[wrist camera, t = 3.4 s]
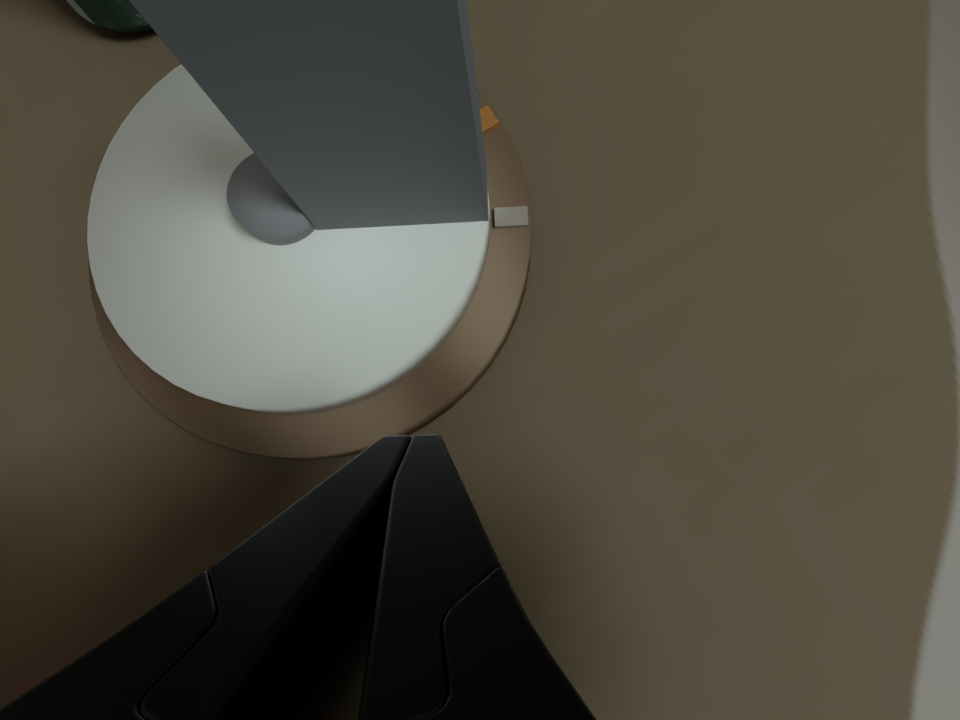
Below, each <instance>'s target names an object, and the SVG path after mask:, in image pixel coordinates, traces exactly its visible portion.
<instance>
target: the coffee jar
mask: <svg viewBox="0 0 960 720" xmlns="http://www.w3.org/2000/svg"><path fill="white" fill-rule="evenodd" d="M65 1H66V2H67V3H68V4H69V5H70V6H71V7H72V8H73V9H74V10H75V11H76V12H77V13H78V14H79V15H81V16H82V17H83V18H84V19H86V20H87V21H88V22H90V23H92V24H94V25H96V26H98V27H101V28H103V29H106V30H111V31H116V32H123V33H135V32H142V31H147V30H150V29H152V27H151V26H150V25H149V24H148V23H147V21H146V20H145V19H144V18H143V16H142V15H141V14H140V13H139V12H138V10H137V9H136V8H135V7H134V5H133V4H132V3H131V2H130V1H129V0H65Z"/></svg>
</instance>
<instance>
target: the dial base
mask: <svg viewBox="0 0 960 720" xmlns="http://www.w3.org/2000/svg"><path fill="white" fill-rule="evenodd" d="M478 100H479V108H480V116H481V124H482V132H483V140H484V148H485V156H486V164H487V185H488V193H489V202H490V212H491V226H490V242H489V248H488V254H487V259H486V265H485V268H484V271H483V274H482V277H481V280H480V283H479V286H478V289H477V291H476V293H475V295H474V297H473V299H472V301H471V304H470V306H469V308H468V310H467V312H466V313H465V315H464V316H463V318H462V319H461V321H460V322H459V324H458V326H457V327H456V329H455V330H454V332H453V333H452V334H451V335H450V336H449V338H448V339H447V340H446V341H445V342H444V344H443V345H442V346H441V347H440V348H439V349H438V351H437V352H436V353H435V354H434V355H432V356H431V357H430V358H429V359H428V360H427V361H426V362H425V363H424V364H423V365H422V366H420V367H419V368H418V369H417V370H416V371H414V372H413V373H412V374H410V375H409V376H407V377H406V378H404V379H403V380H402V381H400V382H399V383H397V384H396V385H394V386H392V387H390V388H388V389H387V390H385V391H383V392H381V393H379V394H377V395H375V396H373V397H371V398H369V399H366V400H363V401H361V402H358V403H355V404H353V405H350V406H347V407H343V408H339V409H334V410H330V411H326V412H321V413H311V414H301V415H282V414H267V413H261V412H255V411H250V410H245V409H241V408H237V407H233V406H230V405H226V404H222V403H219V402H216V401H213V400H210V399H206V398H203V397H200V396H197V395H195V394H193V393H191V392H189V391H187V390H185V389H183V388H180V387H178V386H176V385H174V384H173V383H171V382H170V381H168V380H167V379H165V378H164V377H162V376H161V375H159V374H158V373H156V372H155V371H153V370H152V369H151V368H150V367H149V366H148V365H146V364H145V363H144V362H143V361H142V360H141V359H140V358H139V357H138V356H137V355H135V354H134V353H133V351H132V350H131V349H130V348H129V347H128V345H127V344H126V343H125V342H124V340H123V339H122V338H121V337H120V335H119V334H118V333H117V331H116V329H115V328H114V326H113V324H112V323H111V321H110V319H109V318H108V316H107V314H106V313H105V310H104V308H103V306H102V303H101V301H100V298H99V296H98V293H97V291H96V288H95V284H94V280H93V276H92V272H91V268H90V262H89V276H90V285H91V295H92V299H93V303H94V307H95V311H96V315H97V319H98V323H99V326H100V328H101V331H102V333H103V335H104V338H105V340H106V343H107V345H108V348H109V350H110V351H111V353H112V355H113V356H114V358H115V360H116V361H117V363H118V365H119V367H120V368H121V370H122V372H123V373H124V374H125V375H126V377H127V378H128V379H129V380H130V382H131V383H132V384H133V385H134V387H135V388H136V389H137V390H138V392H139V393H140V394H141V395H142V396H143V397H144V398H145V399H146V400H148V401H149V402H150V403H151V404H152V405H153V406H154V407H155V408H156V409H157V410H158V411H159V412H160V413H162V414H163V415H165V416H166V417H168V418H169V419H171V420H172V421H174V422H175V423H176V424H178V425H179V426H181V427H182V428H184V429H185V430H188V431H190V432H192V433H194V434H196V435H198V436H200V437H202V438H204V439H206V440H208V441H210V442H213V443H216V444H219V445H222V446H225V447H228V448H231V449H234V450H237V451H242V452H247V453H253V454H259V455H264V456H271V457H280V458H292V459H324V458H335V457H345V456H349V455H353V454H357V453H361V452H363V451H364V450H365V449H367V448H368V447H369V446H371V445H372V444H373V443H375V442H376V441H377V440H379V439H380V438H381V437H383V436H386V435H410V434H412V433H413V432H415V431H417V430H419V429H421V428H423V427H425V426H426V425H428V424H429V423H431V422H432V421H434V420H435V419H436V418H438V417H439V416H441V415H442V414H443V413H445V412H446V411H448V410H449V409H450V408H451V407H452V406H454V405H455V404H456V403H457V402H458V401H459V400H460V399H461V398H462V397H463V396H464V395H465V394H466V393H468V392H469V391H470V390H471V389H472V388H473V386H474V385H475V384H476V383H477V382H478V380H479V379H480V378H481V377H482V376H483V374H484V373H485V372H486V371H487V370H488V368H489V367H490V366H491V364H492V363H493V361H494V360H495V358H496V356H497V355H498V353H499V352H500V350H501V349H502V347H503V345H504V344H505V342H506V340H507V338H508V336H509V334H510V331H511V329H512V327H513V325H514V323H515V320H516V318H517V316H518V313H519V309H520V306H521V303H522V300H523V296H524V293H525V290H526V284H527V278H528V271H529V265H530V238H531V215H530V206H529V198H528V190H527V186H526V182H525V178H524V174H523V170H522V167H521V163H520V161H519V158H518V156H517V153H516V151H515V149H514V146H513V144H512V142H511V139H510V137H509V136H508V134H507V132H506V131H505V129H504V127H503V126H502V124H501V122H500V121H499V119H498V117H497V115H496V114H495V113H494V112H493V110H492V109H491V108H490V107H489V106H488V104H487V103H486V102H485V101H484V99H483V98H482V97H481V96H480V94H478Z"/></svg>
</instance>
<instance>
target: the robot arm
mask: <svg viewBox="0 0 960 720" xmlns="http://www.w3.org/2000/svg"><path fill="white" fill-rule="evenodd" d="M0 720H596V719H595V717H594V716H593V714H592V713H591V711H590V710H589V708H588V707H587V706H586V704H585V703H584V701H583V700H582V698H581V697H580V695H579V694H578V693H577V691H576V690H575V688H574V687H573V685H572V684H571V682H570V681H569V680H568V678H567V677H566V675H565V674H564V672H563V671H562V669H561V668H560V667H559V665H558V664H557V662H556V661H555V659H554V658H553V656H552V655H551V654H550V652H549V650H548V649H547V647H546V646H545V644H544V643H543V641H542V639H541V638H540V636H539V635H538V633H537V631H536V630H535V628H534V627H533V625H532V624H531V622H530V620H529V619H528V617H527V615H526V613H525V611H524V609H523V607H522V605H521V604H520V602H519V600H518V598H517V596H516V594H515V592H514V590H513V588H512V586H511V584H510V582H509V580H508V577H507V575H506V573H505V571H504V570H503V569H502V566H501V564H500V562H499V560H498V558H497V556H496V553H495V551H494V549H493V547H492V545H491V543H490V540H489V538H488V536H487V534H486V532H485V530H484V528H483V525H482V523H481V521H480V519H479V517H478V515H477V512H476V510H475V508H474V506H473V504H472V502H471V500H470V497H469V495H468V493H467V491H466V489H465V487H464V485H463V482H462V480H461V478H460V476H459V474H458V472H457V469H456V467H455V465H454V463H453V461H452V459H451V457H450V454H449V452H448V450H447V448H446V446H445V444H444V441H443V439H442V437H441V436H440V435H438V434H424V435H414V436H413V437H412V438H411V437H410V436H409V435H386V436H383V437H381V438H380V439H379V440H377V441H376V442H375V443H373V444H372V445H371V446H369V447H368V448H367V449H365V450H364V451H363V452H361V453H360V454H359V455H357V456H356V457H355V458H354V459H352V460H351V461H350V462H348V463H347V464H346V465H344V466H343V467H342V468H340V469H339V470H338V471H336V472H335V473H334V474H332V475H331V476H330V477H328V478H327V479H326V480H324V481H323V482H322V483H320V484H319V485H318V486H316V487H315V488H314V489H312V490H311V491H310V492H308V493H307V494H306V495H305V496H303V497H302V498H301V499H299V500H298V501H297V502H295V503H294V504H293V505H291V506H290V507H289V508H287V509H286V510H285V511H283V512H282V513H281V514H279V515H278V516H277V517H275V518H274V519H273V520H271V521H270V522H269V523H267V524H266V525H265V526H263V527H262V528H261V529H259V530H258V531H257V532H256V533H254V534H253V535H252V536H250V537H249V538H248V539H246V540H245V541H244V542H242V543H241V544H240V545H238V546H237V547H236V548H234V549H233V550H232V551H230V552H229V553H228V554H226V555H225V556H224V557H222V558H221V559H220V560H218V561H217V562H216V563H214V564H213V565H212V566H210V567H209V569H208V573H207V572H206V571H202V572H201V573H200V574H198V575H197V576H196V577H194V578H193V579H192V580H190V581H189V582H188V583H186V584H185V585H184V586H182V587H181V588H180V589H178V590H177V591H176V592H174V593H173V594H171V595H170V596H169V597H167V598H166V599H164V600H163V601H162V602H160V603H159V604H158V605H156V606H155V607H153V608H152V609H151V610H149V611H148V612H146V613H145V614H144V615H142V616H141V617H140V618H138V619H137V620H135V621H134V622H132V623H131V624H129V625H128V626H126V627H125V628H123V629H122V630H120V631H119V632H117V633H116V634H114V635H113V636H111V637H110V638H108V639H107V640H105V641H104V642H102V643H101V644H99V645H98V646H96V647H95V648H93V649H92V650H91V651H89V652H88V653H86V654H84V655H83V656H81V657H80V658H78V659H77V660H75V661H74V662H72V663H71V664H69V665H68V666H66V667H64V668H63V669H61V670H60V671H58V672H57V673H55V674H54V675H52V676H51V677H49V678H47V679H46V680H44V681H43V682H41V683H40V684H38V685H37V686H35V687H34V688H32V689H31V690H29V691H27V692H26V693H24V694H23V695H21V696H20V697H18V698H17V699H15V700H14V701H12V702H10V703H9V704H7V705H6V706H4V707H3V708H1V709H0Z"/></svg>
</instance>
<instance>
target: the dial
mask: <svg viewBox="0 0 960 720" xmlns="http://www.w3.org/2000/svg"><path fill="white" fill-rule="evenodd" d="M129 1H130V2H131V3H132V4H133V5H134V7H135V8H136V9H137V10H138V12H139V13H140V14H141V15H142V16H143V18H144V19H145V20H146V21H147V23H148V24H149V25H150V26H151V27H152V29H153V30H154V31H155V32H156V33H157V35H158V36H159V37H160V38H161V40H162V41H163V42H164V43H165V44H166V46H167V47H168V48H169V49H170V51H171V52H172V53H173V54H174V55H175V57H176V58H177V59H178V60H179V62H180V63H181V65H179V66H178V67H176V68H175V69H173V70H172V71H171V72H170V73H169V74H167V75H166V76H165V77H164V78H163V79H161V80H160V81H159V82H158V83H157V84H155V85H154V86H153V87H152V88H151V89H150V90H149V91H148V93H147V94H146V95H145V96H144V97H143V98H142V99H141V100H140V101H139V102H138V103H137V104H136V106H135V107H134V108H133V109H132V111H131V112H130V113H129V115H128V116H127V117H126V119H125V120H124V121H123V123H122V124H121V126H120V128H119V129H118V131H117V133H116V134H115V136H114V138H113V139H112V141H111V143H110V144H109V147H108V149H107V151H106V153H105V156H104V158H103V160H102V163H101V165H100V167H99V170H98V173H97V177H96V180H95V183H94V187H93V190H92V195H91V201H90V207H89V213H88V233H87V243H88V253H89V262H90V268H91V272H92V276H93V280H94V284H95V288H96V291H97V293H98V296H99V298H100V301H101V303H102V306H103V308H104V310H105V313H106V314H107V316H108V318H109V319H110V321H111V323H112V324H113V326H114V328H115V329H116V331H117V333H118V334H119V335H120V337H121V338H122V339H123V340H124V342H125V343H126V344H127V345H128V347H129V348H130V349H131V350H132V351H133V353H134V354H135V355H137V356H138V357H139V358H140V359H141V360H142V361H143V362H144V363H145V364H146V365H148V366H149V367H150V368H151V369H152V370H153V371H155V372H156V373H158V374H159V375H161V376H162V377H164V378H165V379H167V380H168V381H170V382H171V383H173V384H174V385H176V386H178V387H180V388H183V389H185V390H187V391H189V392H191V393H193V394H195V395H197V396H200V397H203V398H206V399H210V400H213V401H216V402H219V403H222V404H226V405H230V406H233V407H237V408H241V409H245V410H250V411H255V412H261V413H267V414H282V415H301V414H311V413H321V412H326V411H330V410H334V409H339V408H343V407H347V406H350V405H353V404H355V403H358V402H361V401H363V400H366V399H369V398H371V397H373V396H375V395H377V394H379V393H381V392H383V391H385V390H387V389H388V388H390V387H392V386H394V385H396V384H397V383H399V382H400V381H402V380H403V379H404V378H406V377H407V376H409V375H410V374H412V373H413V372H414V371H416V370H417V369H418V368H419V367H420V366H422V365H423V364H424V363H425V362H426V361H427V360H428V359H429V358H430V357H431V356H432V355H434V354H435V353H436V352H437V351H438V349H439V348H440V347H441V346H442V345H443V344H444V342H445V341H446V340H447V339H448V338H449V336H450V335H451V334H452V333H453V332H454V330H455V329H456V327H457V326H458V324H459V322H460V321H461V319H462V318H463V316H464V315H465V313H466V312H467V310H468V308H469V306H470V304H471V301H472V299H473V297H474V295H475V293H476V291H477V289H478V286H479V283H480V280H481V277H482V274H483V271H484V268H485V265H486V259H487V254H488V248H489V242H490V226H491V212H490V202H489V193H488V185H487V164H486V156H485V148H484V140H483V132H482V124H481V116H480V108H479V100H478V92H477V84H476V76H475V68H474V60H473V52H472V44H471V36H470V28H469V20H468V12H467V5H466V0H129Z"/></svg>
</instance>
